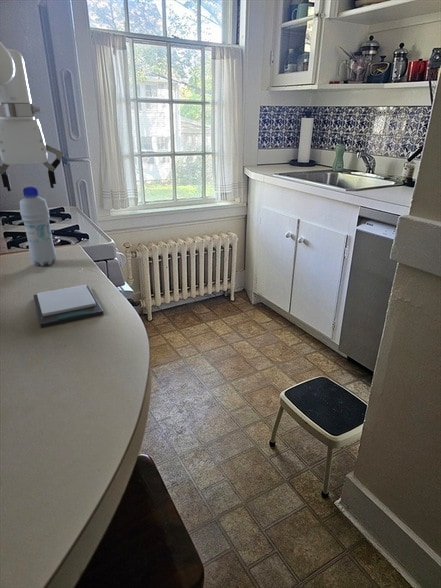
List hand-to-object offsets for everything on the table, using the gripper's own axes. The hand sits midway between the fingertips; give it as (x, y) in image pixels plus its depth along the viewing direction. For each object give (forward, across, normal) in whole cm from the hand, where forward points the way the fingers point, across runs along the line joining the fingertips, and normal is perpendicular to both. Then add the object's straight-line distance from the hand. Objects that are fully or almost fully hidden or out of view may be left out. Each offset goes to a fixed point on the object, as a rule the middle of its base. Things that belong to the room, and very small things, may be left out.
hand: (31, 188), depth 97 cm
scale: (+19, -3, +34) cm, 39 cm away
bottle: (+20, 0, 0) cm, 20 cm away
